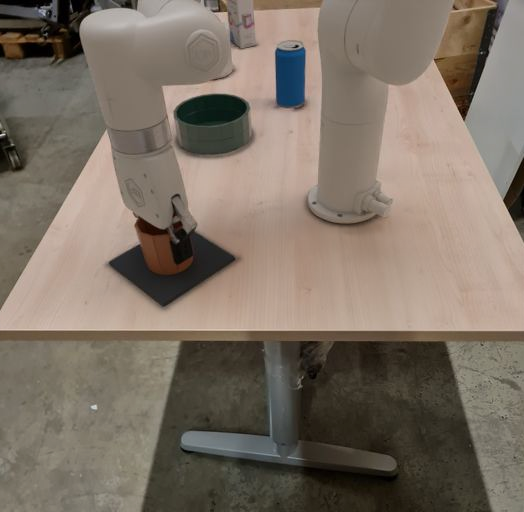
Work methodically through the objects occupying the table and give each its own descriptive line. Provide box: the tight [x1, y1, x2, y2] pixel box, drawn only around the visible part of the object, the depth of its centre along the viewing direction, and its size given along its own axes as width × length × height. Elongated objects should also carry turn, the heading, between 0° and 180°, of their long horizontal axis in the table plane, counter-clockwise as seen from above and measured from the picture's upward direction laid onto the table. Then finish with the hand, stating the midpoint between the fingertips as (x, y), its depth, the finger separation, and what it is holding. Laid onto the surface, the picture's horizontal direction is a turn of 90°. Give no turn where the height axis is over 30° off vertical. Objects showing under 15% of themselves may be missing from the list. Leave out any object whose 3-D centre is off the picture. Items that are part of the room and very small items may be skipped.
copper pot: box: [134, 212, 194, 275], centre depth 71 cm, size 7×8×7 cm
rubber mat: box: [108, 231, 236, 308], centre depth 74 cm, size 14×14×1 cm
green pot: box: [172, 93, 253, 156], centre depth 98 cm, size 15×15×6 cm
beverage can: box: [274, 39, 307, 109], centre depth 104 cm, size 6×6×12 cm
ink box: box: [225, 0, 257, 50], centre depth 132 cm, size 9×5×12 cm, turn 25°
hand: (167, 247), depth 72 cm, fingers closed on copper pot, 7 cm apart
